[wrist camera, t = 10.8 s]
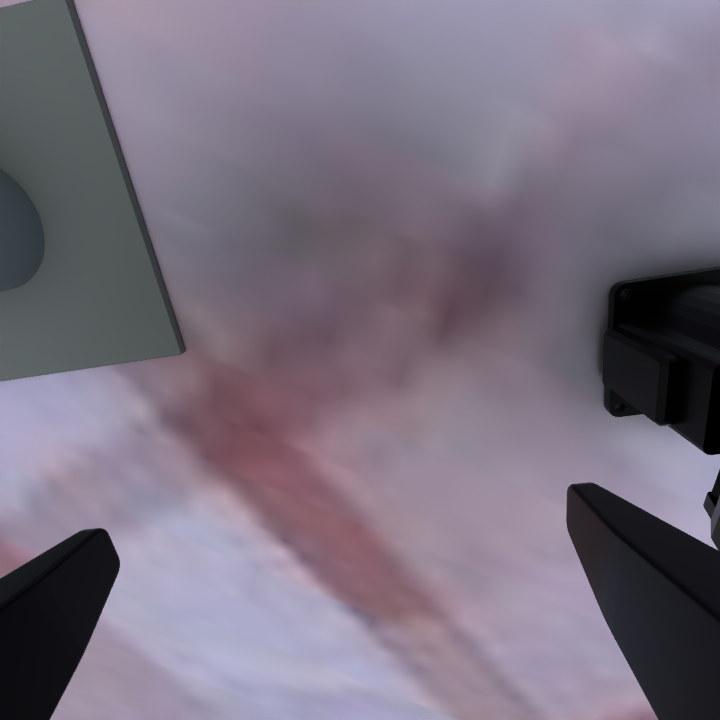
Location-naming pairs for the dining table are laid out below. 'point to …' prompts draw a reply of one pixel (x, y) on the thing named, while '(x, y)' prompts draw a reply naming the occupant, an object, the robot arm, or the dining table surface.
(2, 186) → the tumbler
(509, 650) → the dining table surface
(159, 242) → the dining table surface
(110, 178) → the coaster mat
